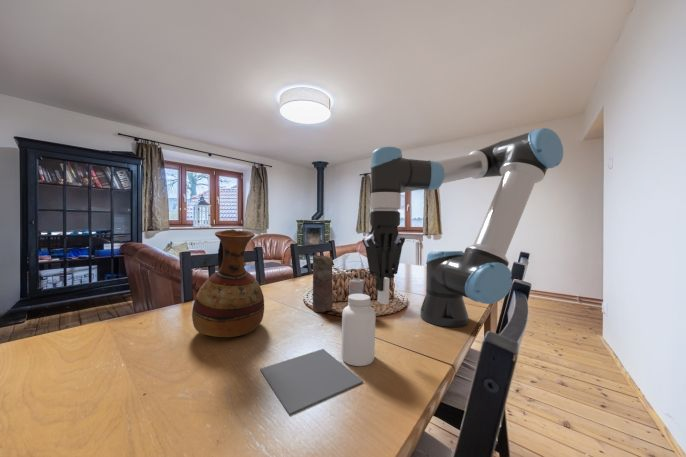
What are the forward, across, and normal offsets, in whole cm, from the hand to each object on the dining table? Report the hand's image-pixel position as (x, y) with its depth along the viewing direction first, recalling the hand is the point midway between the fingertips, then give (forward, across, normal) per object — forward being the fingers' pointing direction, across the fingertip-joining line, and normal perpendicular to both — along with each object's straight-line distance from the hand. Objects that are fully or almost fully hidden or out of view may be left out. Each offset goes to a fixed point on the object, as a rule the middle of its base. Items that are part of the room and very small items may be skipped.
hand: (383, 302), depth 67 cm
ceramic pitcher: (+13, +30, -34) cm, 47 cm away
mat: (+12, +21, 0) cm, 24 cm away
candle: (+12, -2, -34) cm, 36 cm away
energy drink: (+12, -10, -24) cm, 29 cm away
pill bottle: (+12, +8, 0) cm, 15 cm away
